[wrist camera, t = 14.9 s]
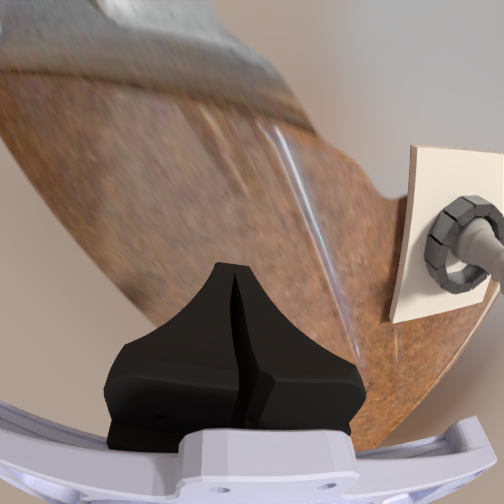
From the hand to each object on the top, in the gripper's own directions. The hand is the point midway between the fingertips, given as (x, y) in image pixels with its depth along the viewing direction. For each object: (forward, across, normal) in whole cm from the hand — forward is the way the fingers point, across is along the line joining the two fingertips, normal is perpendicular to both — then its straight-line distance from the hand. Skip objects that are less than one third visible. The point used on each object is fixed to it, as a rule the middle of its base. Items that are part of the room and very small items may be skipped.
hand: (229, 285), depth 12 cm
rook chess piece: (+9, -20, -2) cm, 22 cm away
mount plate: (+10, -20, -1) cm, 22 cm away
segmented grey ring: (+10, -20, -1) cm, 22 cm away
